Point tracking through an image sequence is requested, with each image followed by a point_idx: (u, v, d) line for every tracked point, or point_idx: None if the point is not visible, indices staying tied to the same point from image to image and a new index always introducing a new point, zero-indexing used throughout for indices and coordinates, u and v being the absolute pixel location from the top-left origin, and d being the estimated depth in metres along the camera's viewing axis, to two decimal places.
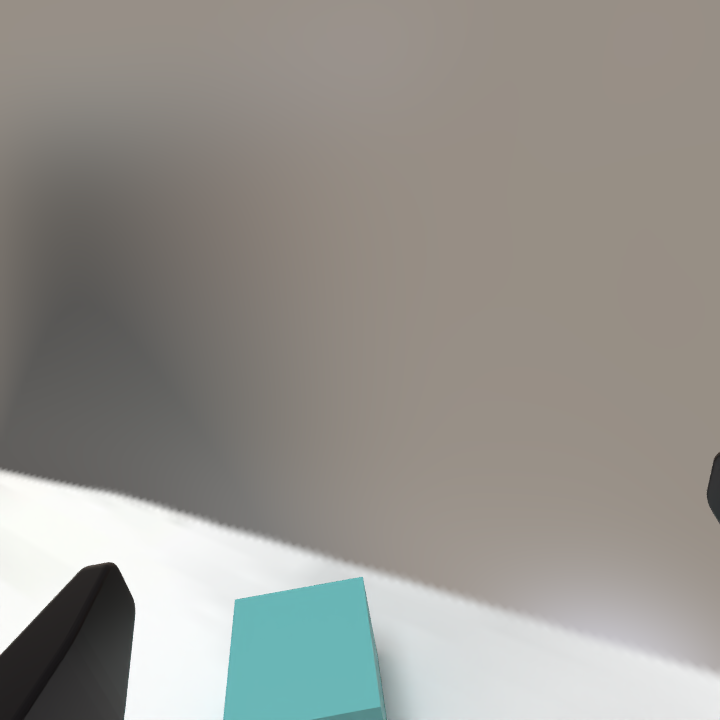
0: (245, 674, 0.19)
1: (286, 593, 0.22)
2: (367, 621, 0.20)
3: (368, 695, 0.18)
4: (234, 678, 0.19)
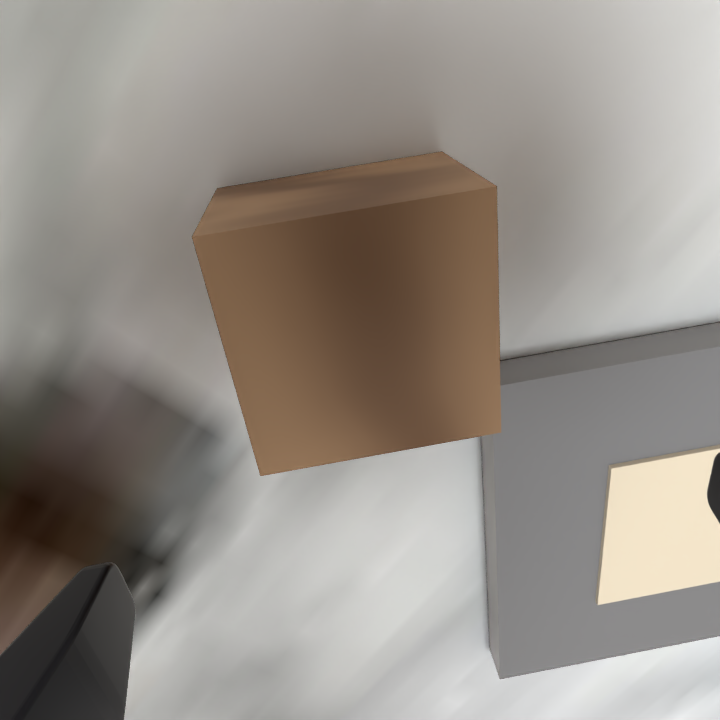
0: None
1: None
2: None
3: None
4: None
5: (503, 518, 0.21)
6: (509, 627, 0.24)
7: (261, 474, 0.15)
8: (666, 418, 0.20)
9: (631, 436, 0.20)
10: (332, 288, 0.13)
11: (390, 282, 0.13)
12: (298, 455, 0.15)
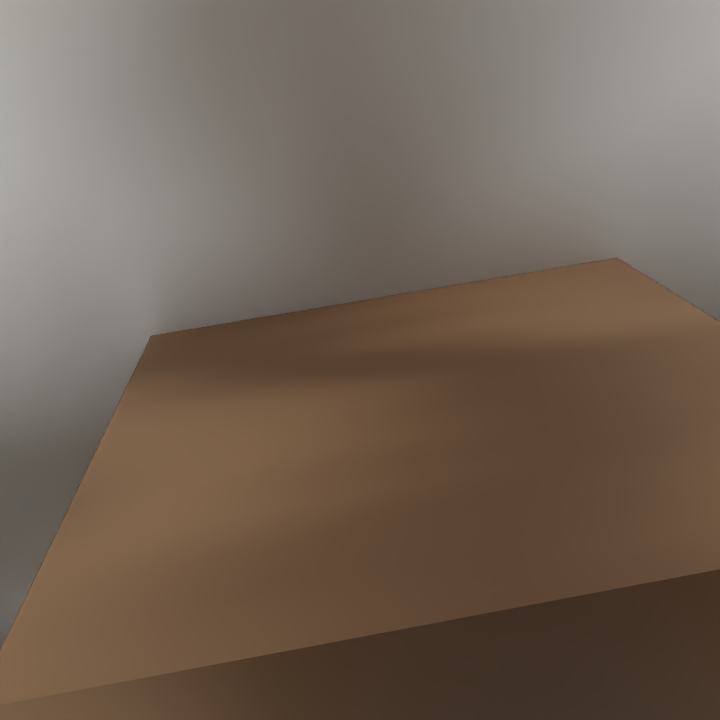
0: None
1: None
2: None
3: None
4: None
5: None
6: None
7: None
8: None
9: None
10: None
11: None
12: None
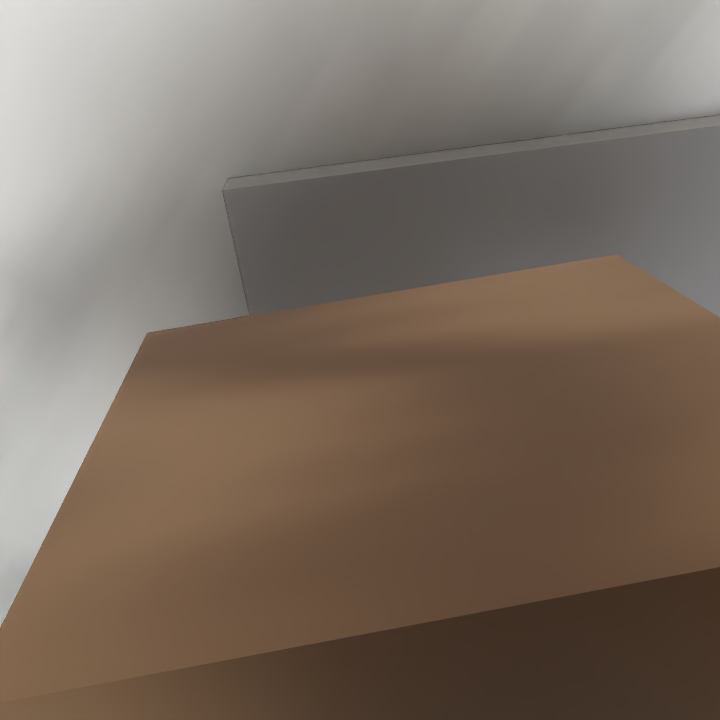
0: None
1: None
2: None
3: None
4: None
5: None
6: None
7: None
8: (457, 253, 0.16)
9: (417, 276, 0.17)
10: None
11: None
12: None
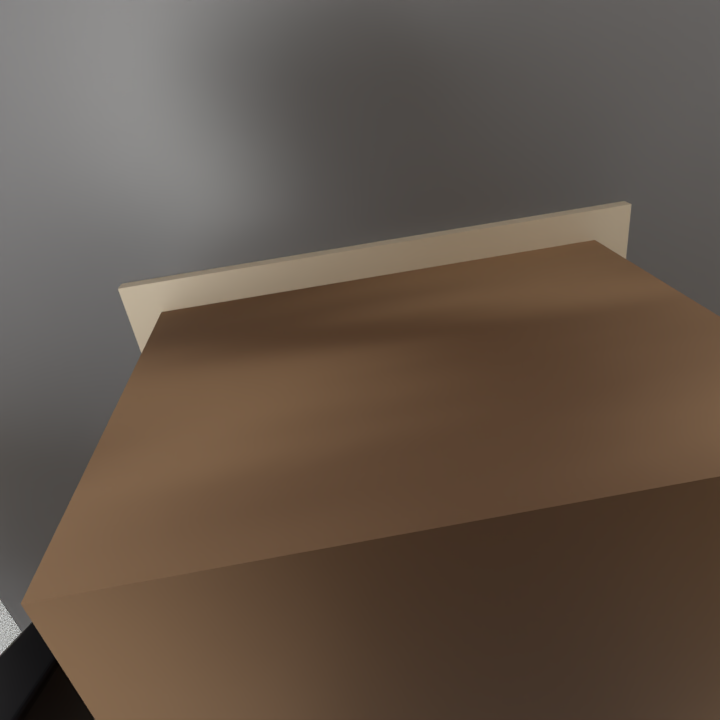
0: None
1: None
2: None
3: None
4: None
5: None
6: None
7: None
8: (226, 141, 0.07)
9: (148, 196, 0.08)
10: (426, 672, 0.05)
11: (573, 651, 0.05)
12: None
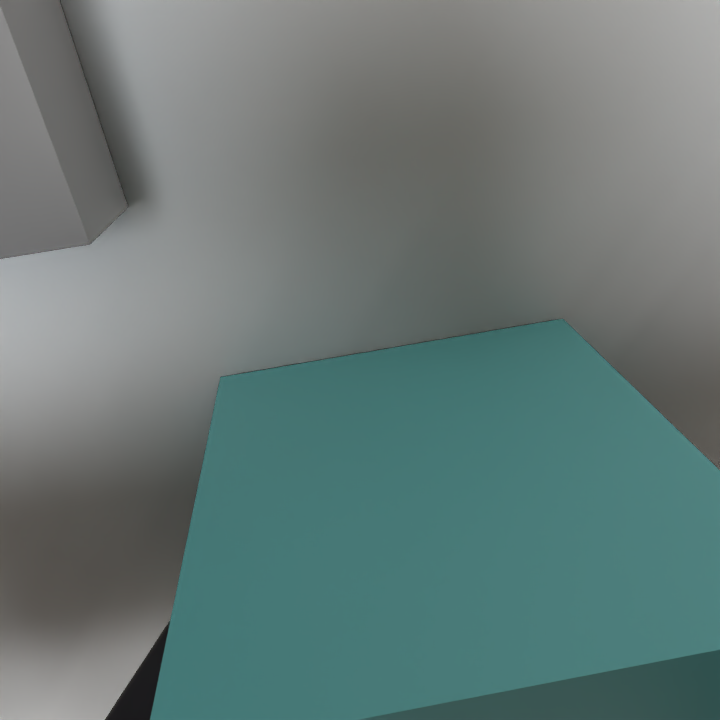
0: None
1: None
2: None
3: None
4: None
5: None
6: None
7: None
8: None
9: None
10: None
11: None
12: None
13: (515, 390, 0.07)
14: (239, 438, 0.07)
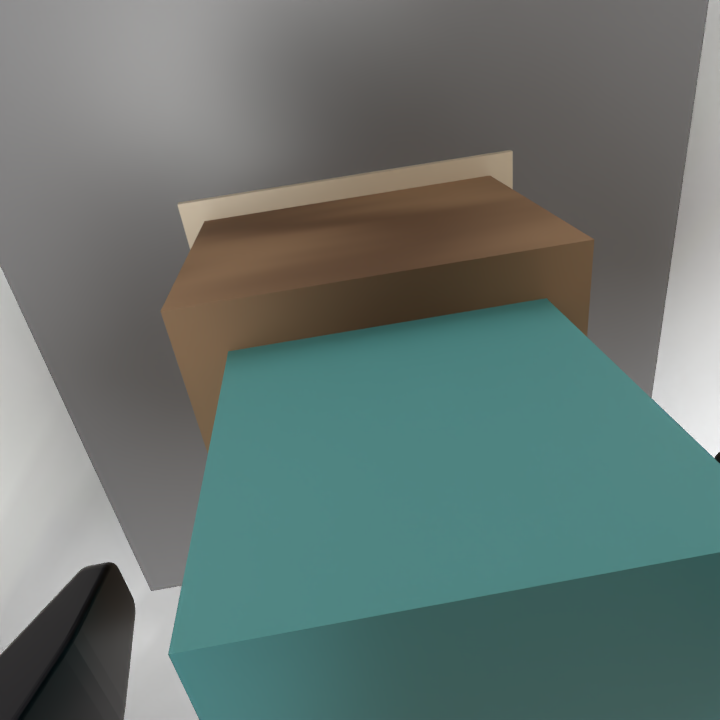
0: (418, 657, 0.05)
1: None
2: None
3: None
4: (404, 632, 0.04)
5: (30, 300, 0.13)
6: (129, 504, 0.16)
7: None
8: (249, 107, 0.12)
9: (198, 143, 0.12)
10: None
11: None
12: None
13: (498, 360, 0.07)
14: (247, 402, 0.07)
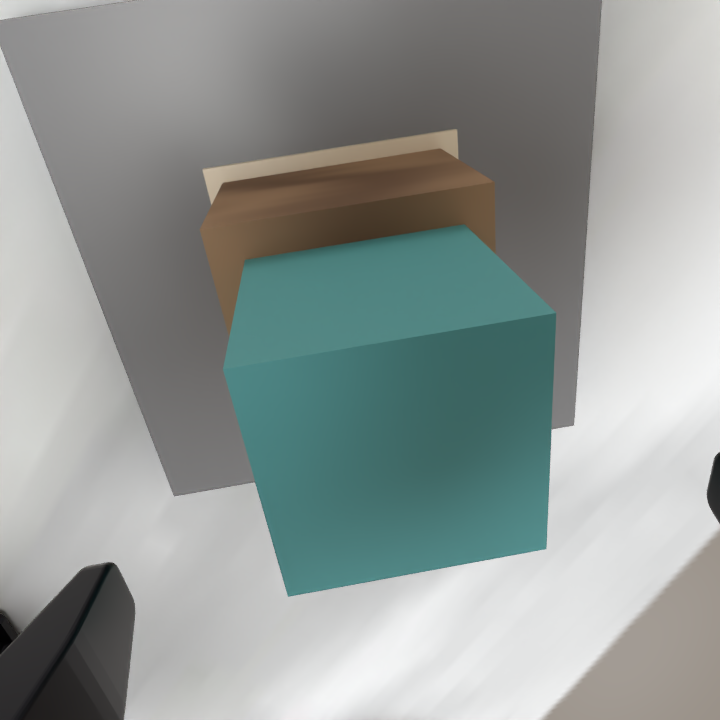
0: (356, 382, 0.09)
1: (543, 424, 0.09)
2: (445, 566, 0.11)
3: (306, 580, 0.11)
4: (347, 363, 0.08)
5: (87, 245, 0.17)
6: (158, 418, 0.20)
7: None
8: (257, 96, 0.16)
9: (218, 122, 0.16)
10: None
11: None
12: None
13: (423, 255, 0.11)
14: (259, 282, 0.11)
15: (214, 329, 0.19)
